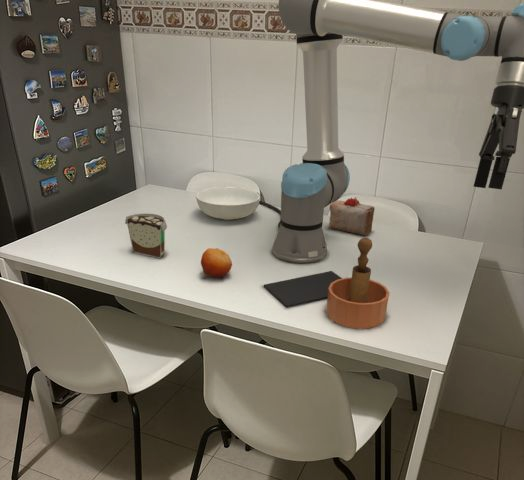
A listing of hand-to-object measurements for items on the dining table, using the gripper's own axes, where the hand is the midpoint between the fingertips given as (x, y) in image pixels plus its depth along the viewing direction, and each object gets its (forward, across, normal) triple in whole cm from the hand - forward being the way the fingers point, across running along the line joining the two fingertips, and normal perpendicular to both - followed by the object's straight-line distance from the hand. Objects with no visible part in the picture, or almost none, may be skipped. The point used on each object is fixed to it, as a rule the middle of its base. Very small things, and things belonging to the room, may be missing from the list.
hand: (486, 188), depth 120 cm
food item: (+17, +38, +28) cm, 50 cm away
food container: (+28, +9, +82) cm, 87 cm away
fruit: (+30, -2, +61) cm, 68 cm away
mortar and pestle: (+31, -16, +25) cm, 43 cm away
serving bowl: (+19, +43, +68) cm, 83 cm away
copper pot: (+31, -16, +25) cm, 43 cm away
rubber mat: (+29, -6, +36) cm, 47 cm away
